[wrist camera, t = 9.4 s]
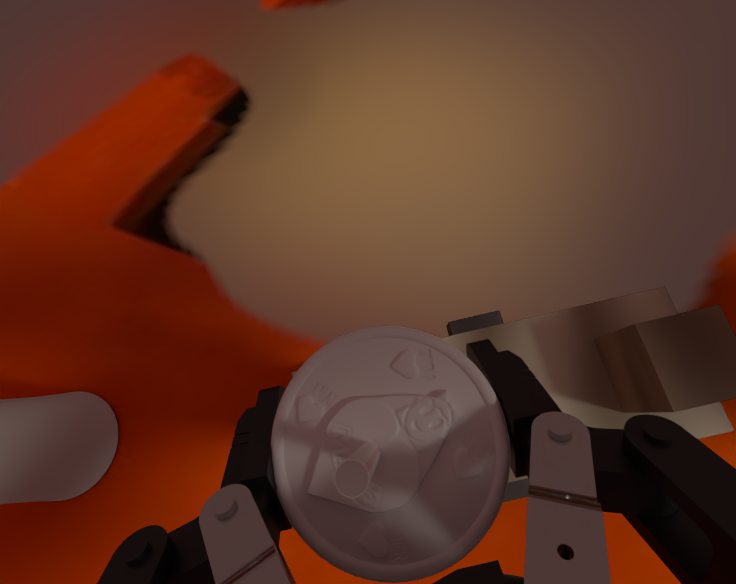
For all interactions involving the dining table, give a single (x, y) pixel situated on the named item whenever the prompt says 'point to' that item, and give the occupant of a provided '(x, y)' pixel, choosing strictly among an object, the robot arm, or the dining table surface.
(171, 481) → the dining table surface
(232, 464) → the robot arm
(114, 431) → the cosmetic bottle
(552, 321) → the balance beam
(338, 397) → the white drink cup
